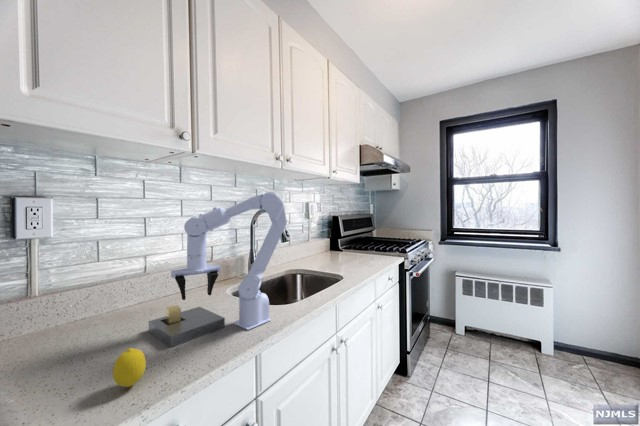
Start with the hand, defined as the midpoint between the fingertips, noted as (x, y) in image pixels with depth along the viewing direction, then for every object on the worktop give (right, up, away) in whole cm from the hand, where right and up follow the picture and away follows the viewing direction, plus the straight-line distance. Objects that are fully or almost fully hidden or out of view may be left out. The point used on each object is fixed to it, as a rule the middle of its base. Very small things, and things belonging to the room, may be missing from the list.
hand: (196, 296), depth 83 cm
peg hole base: (-2, -9, -2) cm, 10 cm away
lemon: (0, -10, -29) cm, 31 cm away
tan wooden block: (-6, -9, -3) cm, 11 cm away
